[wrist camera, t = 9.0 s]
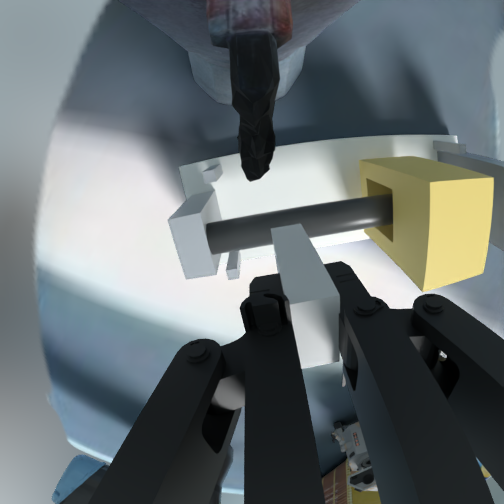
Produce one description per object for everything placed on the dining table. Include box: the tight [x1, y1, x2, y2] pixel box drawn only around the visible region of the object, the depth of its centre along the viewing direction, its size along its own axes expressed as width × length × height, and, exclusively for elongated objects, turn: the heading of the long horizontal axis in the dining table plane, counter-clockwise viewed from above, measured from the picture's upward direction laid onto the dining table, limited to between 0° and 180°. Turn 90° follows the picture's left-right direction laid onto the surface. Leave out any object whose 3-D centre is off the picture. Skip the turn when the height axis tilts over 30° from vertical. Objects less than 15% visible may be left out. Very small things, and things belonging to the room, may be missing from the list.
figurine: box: [331, 422, 378, 492], centre depth 30 cm, size 9×12×15 cm
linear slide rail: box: [168, 135, 504, 280], centre depth 18 cm, size 26×9×11 cm, turn 101°
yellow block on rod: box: [359, 156, 494, 292], centre depth 15 cm, size 5×6×9 cm
